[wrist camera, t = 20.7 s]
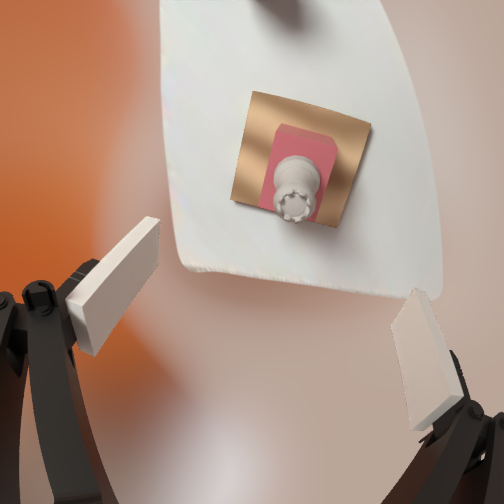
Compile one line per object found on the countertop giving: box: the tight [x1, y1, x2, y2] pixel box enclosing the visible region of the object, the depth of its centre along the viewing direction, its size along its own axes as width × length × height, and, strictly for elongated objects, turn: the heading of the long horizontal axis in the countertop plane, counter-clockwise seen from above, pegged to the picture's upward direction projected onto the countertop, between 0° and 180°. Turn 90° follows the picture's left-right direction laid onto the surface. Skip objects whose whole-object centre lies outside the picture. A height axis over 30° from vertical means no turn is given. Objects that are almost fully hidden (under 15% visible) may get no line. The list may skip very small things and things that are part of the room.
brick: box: [258, 123, 338, 222], centre depth 32 cm, size 8×6×7 cm
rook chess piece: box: [273, 155, 320, 223], centre depth 25 cm, size 4×4×8 cm
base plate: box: [230, 91, 371, 228], centre depth 35 cm, size 14×14×1 cm
